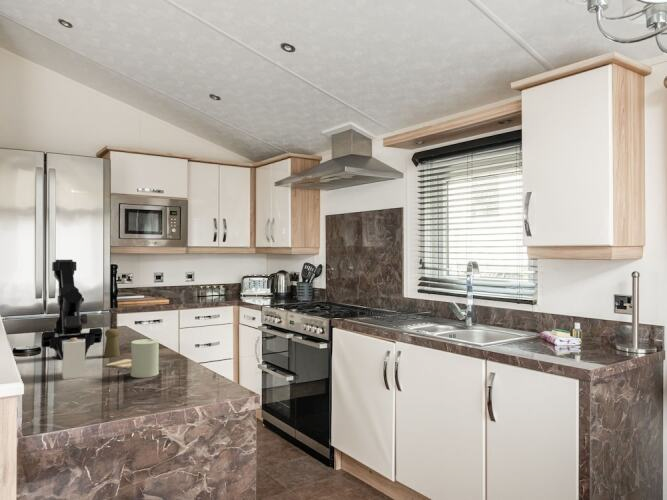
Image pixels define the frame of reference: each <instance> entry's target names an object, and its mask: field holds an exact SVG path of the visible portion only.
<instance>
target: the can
mask: <svg viewBox="0 0 667 500" xmlns="http://www.w3.org/2000/svg"><path fill="white" fill-rule="evenodd" d="M130 344H131V348H130V351H131V352H130V353H131V355H130V357H131V358H130V359H131V370H130V376H131V377H132V378H137V379H138V378H139V379H140V378H142V379H143V378H152V377H156V376H158V375H159V374H160V372H159V371H160V370H159V355H160V354H159V353H160V351H159V346H160V345H159V344H160V341H159V340H158V339H154V338H153V339H152V338H147V339H145V338H142V339H136V340H135V339H134V340H132V341H131V342H130Z"/></svg>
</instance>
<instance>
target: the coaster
mask: <svg viewBox="0 0 667 500" xmlns="http://www.w3.org/2000/svg"><path fill="white" fill-rule="evenodd" d="M105 367H111V368H119V369H130V368H131V358H124V359H121V360H120V359H119V360H116V361H114V362H113V361H112V362H110V363H106V364H105Z"/></svg>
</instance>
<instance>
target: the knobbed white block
mask: <svg viewBox="0 0 667 500" xmlns="http://www.w3.org/2000/svg"><path fill="white" fill-rule="evenodd" d="M62 351H63V359H61V377H62V380H72V379H80V378H85V377H86V357H85V339H77V338H70V340H62Z"/></svg>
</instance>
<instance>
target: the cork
mask: <svg viewBox="0 0 667 500" xmlns="http://www.w3.org/2000/svg"><path fill="white" fill-rule="evenodd" d="M119 335H120V331H119V329H117V328H108V329H106V330H105V337H106V340H105V345H104V353H103V358H107V359H109V358H110V359H112V358H114V359H115V358H118V357H121V352H120V344H119V338H118V337H119Z"/></svg>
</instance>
